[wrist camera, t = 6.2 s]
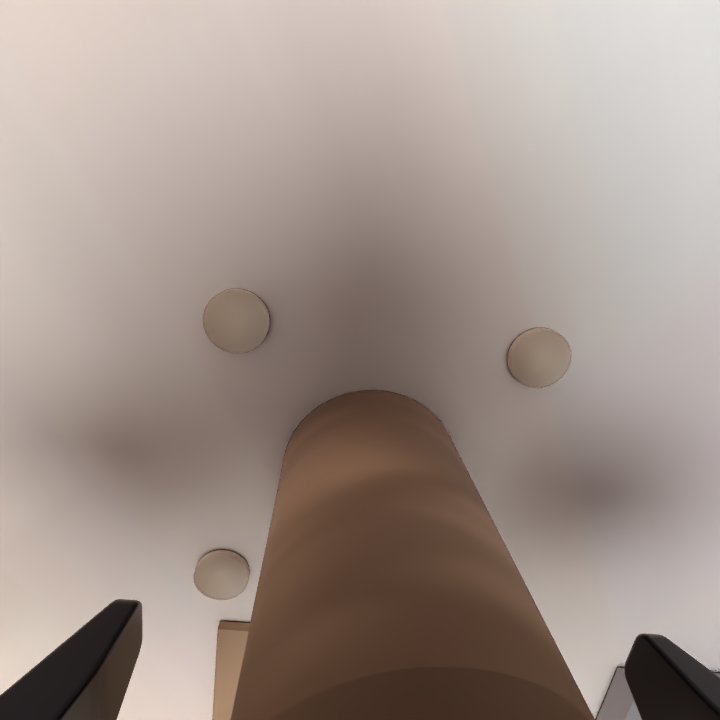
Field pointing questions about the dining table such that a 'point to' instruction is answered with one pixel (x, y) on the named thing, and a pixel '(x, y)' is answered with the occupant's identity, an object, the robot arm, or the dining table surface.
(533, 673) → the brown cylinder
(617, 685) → the console
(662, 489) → the dining table surface
